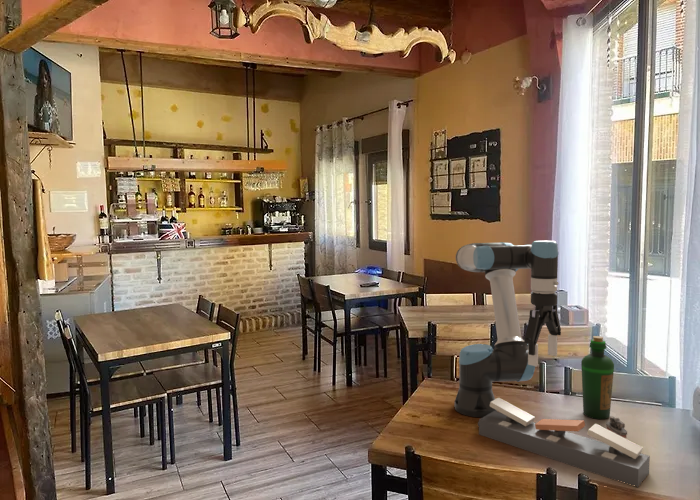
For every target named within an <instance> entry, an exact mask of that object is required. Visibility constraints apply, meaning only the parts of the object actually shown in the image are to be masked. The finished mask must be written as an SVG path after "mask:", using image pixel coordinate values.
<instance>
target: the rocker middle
mask: <svg viewBox="0 0 700 500" xmlns="http://www.w3.org/2000/svg"><path fill="white" fill-rule="evenodd" d="M535 423H536V424H535V427H536V430H556V431H566V432H580V431H581V430H582V429H583V428H584V427H586V422H585V420H581V419H558V418H557V419H556V418H555V419H554V418H553V419H552V418H551V419H549V418H542V419H540V420H539V421H538V422H535Z"/></svg>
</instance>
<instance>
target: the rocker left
mask: <svg viewBox="0 0 700 500" xmlns="http://www.w3.org/2000/svg"><path fill="white" fill-rule="evenodd" d="M490 407H492V408H494V409H495V410H497V412H501V413H503V414H504V415H506V416H508V417H510V418H512V419H513V420H515V421H517V422H519V423H521V424H522V425H524V426H527V425H529V424H530V423H532V422H534V421H535V418H536V417H535V415H532V414H530V413H528V412H527V411H525V410H524V409H521V408H519V407H517V406H515V404H512V403H510V402H508V401H506V400H504V399H502V398H500V397H497V398H495V400H493V401H491V402H490Z"/></svg>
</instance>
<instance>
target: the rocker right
mask: <svg viewBox="0 0 700 500" xmlns="http://www.w3.org/2000/svg"><path fill="white" fill-rule="evenodd" d="M586 435H588V436H590V437H592V438H593V439H595V440H597V441H600V442H603V443H605V444H607V445H609V446H611V447H613V448H615V449H617V450H619V451H620V452H622V453H624V454H626V455H628V456H630V457H632V458H634V459H636V458H637V457H638V456H639V455H640V454H641V453H643V449H644V447H643V446H642V445H639V444H638V443H635V442H633V441H631V440H629V439H627V438H626V439H625V438H623V437H622V436H620V435H618V434H616V433H614V432H612V431H610V430H608V429H607V427H606V428H605V427H603V426H601V425H599V424H598V423H594V424H593V425H592V426H591V427H590V428H588V430H587V433H586Z"/></svg>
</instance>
